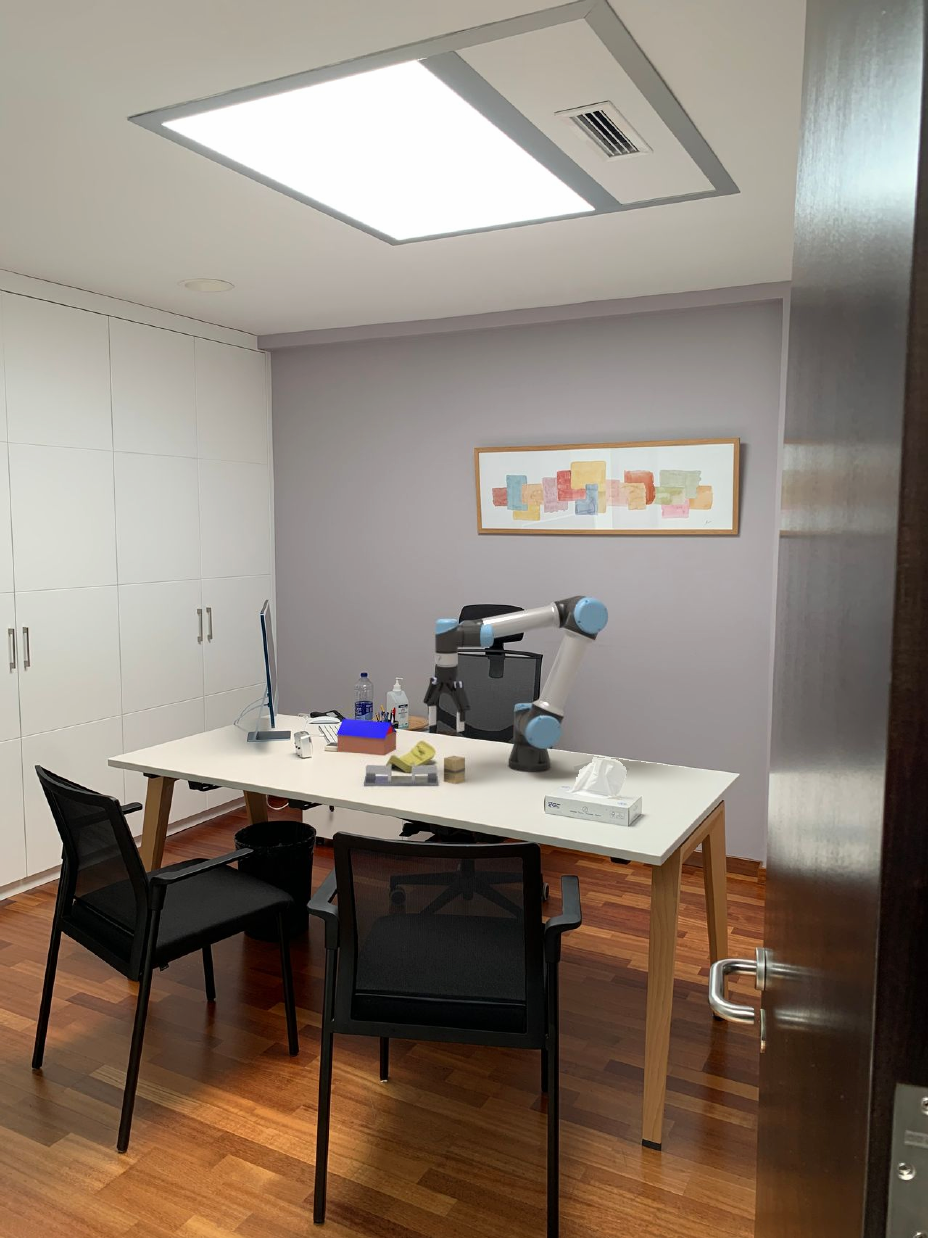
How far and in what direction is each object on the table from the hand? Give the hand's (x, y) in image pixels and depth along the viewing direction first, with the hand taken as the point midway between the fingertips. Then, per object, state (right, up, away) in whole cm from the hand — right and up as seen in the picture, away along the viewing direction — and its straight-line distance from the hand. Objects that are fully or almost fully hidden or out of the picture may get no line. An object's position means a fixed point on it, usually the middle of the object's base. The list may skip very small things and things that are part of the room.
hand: (446, 728), depth 306 cm
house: (-31, -14, +43) cm, 55 cm away
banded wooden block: (+3, -18, -1) cm, 18 cm away
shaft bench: (-15, -18, -3) cm, 23 cm away
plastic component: (-12, -16, +19) cm, 28 cm away
